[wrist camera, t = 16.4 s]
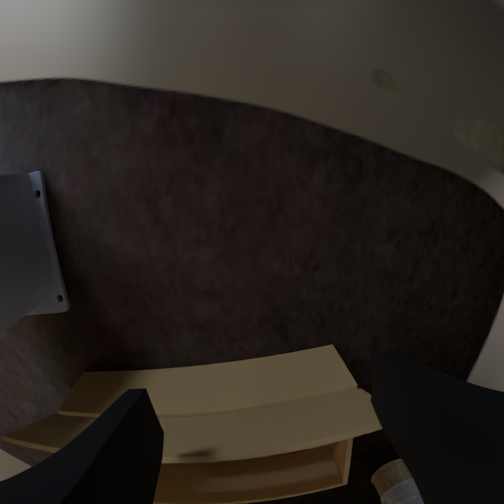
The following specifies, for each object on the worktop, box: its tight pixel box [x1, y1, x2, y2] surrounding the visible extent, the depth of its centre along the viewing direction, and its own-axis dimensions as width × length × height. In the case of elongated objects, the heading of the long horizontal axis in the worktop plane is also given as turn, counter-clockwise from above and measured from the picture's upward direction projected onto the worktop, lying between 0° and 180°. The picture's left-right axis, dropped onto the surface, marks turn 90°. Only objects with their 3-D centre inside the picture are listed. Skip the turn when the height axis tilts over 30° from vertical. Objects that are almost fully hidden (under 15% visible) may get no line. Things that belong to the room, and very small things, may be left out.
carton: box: [58, 345, 357, 504], centre depth 19 cm, size 11×18×5 cm, turn 98°
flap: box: [2, 388, 383, 463], centre depth 12 cm, size 5×18×1 cm
